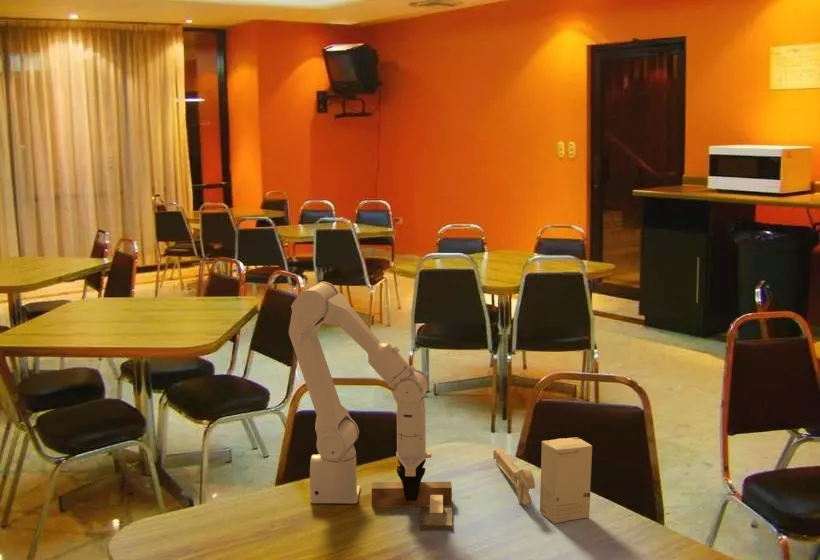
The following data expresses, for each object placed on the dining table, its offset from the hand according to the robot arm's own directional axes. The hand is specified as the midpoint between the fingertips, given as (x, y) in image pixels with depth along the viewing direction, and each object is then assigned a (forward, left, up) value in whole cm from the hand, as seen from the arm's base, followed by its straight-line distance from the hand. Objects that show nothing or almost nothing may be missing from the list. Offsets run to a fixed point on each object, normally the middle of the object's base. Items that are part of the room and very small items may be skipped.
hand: (411, 496), depth 181 cm
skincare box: (+30, -5, -2) cm, 30 cm away
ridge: (+5, -8, -1) cm, 10 cm away
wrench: (+21, +9, -2) cm, 23 cm away
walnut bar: (0, 0, -2) cm, 2 cm away
